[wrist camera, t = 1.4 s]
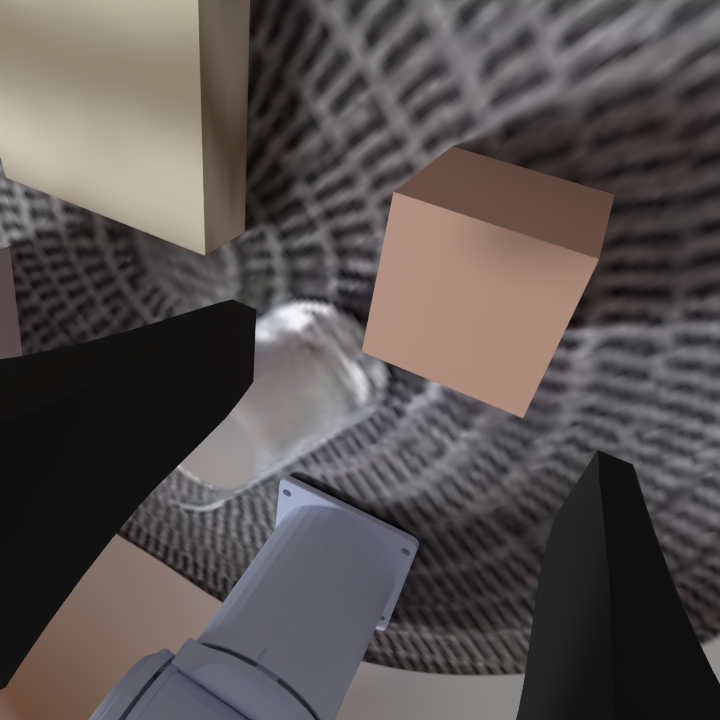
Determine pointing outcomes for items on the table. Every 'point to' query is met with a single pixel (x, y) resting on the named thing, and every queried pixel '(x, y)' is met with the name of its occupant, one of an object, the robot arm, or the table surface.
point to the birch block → (131, 110)
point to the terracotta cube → (483, 274)
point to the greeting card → (8, 310)
